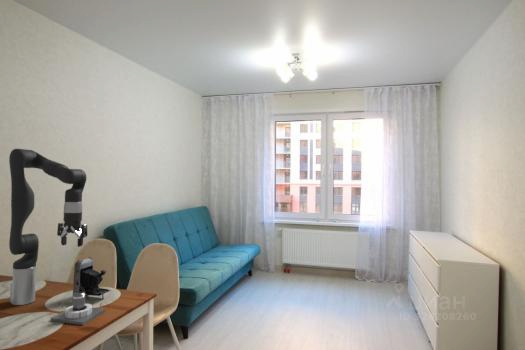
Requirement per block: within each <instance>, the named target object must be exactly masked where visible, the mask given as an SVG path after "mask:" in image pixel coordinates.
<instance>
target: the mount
mask: <svg viewBox="0 0 525 350" xmlns="http://www.w3.org/2000/svg"><path fill="white" fill-rule="evenodd" d="M105 312H106V309H105V308H98V307H93V305H92V304H91V303H85V309H84V310H81V311H73V304H72V305H71V306H68V307H66V308H65V310H64V311H61V312H60V313H58V314H55V315H54V316H52V317H50V321H51V322H55V323H56V322H58V323H63V324H73V325H79V326H83V325H85V324H87V323H89V322H90V321H92V320H93V319H96V318H97V317H99V316H101V315H102V314H103V313H105Z"/></svg>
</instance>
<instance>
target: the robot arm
mask: <svg viewBox="0 0 525 350" xmlns="http://www.w3.org/2000/svg"><path fill="white" fill-rule="evenodd" d="M8 163H9V171H10V172H9V173H10V182H11V184H10V185H11V189H10V190H11V196H10V209H11V210H10V211H11V212H10V213H11V217H10V219H11V221H10V222H11V223H10V232H9V245H8V246H9V251H10V253H11V255H14V256H17V255H18V256H19V255H23V256H21V257H20V258H19V259H17V260H15V261H14V262H13V263H12V282H11V283H10V290H9V291H10V295H9V297H10V298H9V304H11V305H13V306H23V305H27V304H31V303H33V302H35V300H36V280H37V277H36V276H37V261H38V258H39V257H38V255H39V247H40V246H39V245H40V241H39V237H38V235H37V234H36V233H26V234H25V233H24V234H23V230H24V226H25V223H26V221H27V219H29V217H30V215H31V214H32V212H33V211H34V208H35V193H34V191H33V188H32V187H31V185H30V184H29V182H28V181H27V179H26V177H25V176H26V174H25V169H31V168H32V169H38V170H42V172H44V173H45V174H46V175H48V176H50V177H53V178H56V179H57V180H59V181H60V182H62V183H64V184H68V185H72V186H71V188H68V189H66V190H65V192H64V205H63V220H62V221H63V222H59V223H57V233H56V235H57V236H58V237H60V238H61V239H60V244H61V246H66V245H67V244H68V242H67V241H68V239H67V236H68V235H69V234H70V233H71V234H74V235H75V236H76V237H77V247H78V248H80V247H82V246H83V245H84V238H87V237H88V224H87V223H84V224H83V223H82V221H83V192H84V189H85V186H86V183H87V173H86V172H85V171H84V170H83V169H81V168H69V166H67V165H65V164H62V163H60V162H57V161H54V160H51V159H49V158H47V157H45V156H43V155H42V154H40V153H39V152H37V151H35V150H32V149H25V148H14V149H12V150H11V152H10V153H9V161H8Z"/></svg>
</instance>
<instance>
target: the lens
mask: <svg viewBox="0 0 525 350" xmlns="http://www.w3.org/2000/svg"><path fill="white" fill-rule="evenodd" d="M85 304H86V296H85V292H76V293H74V294H73V293H72V305H73V311H81V310H84V309H85Z"/></svg>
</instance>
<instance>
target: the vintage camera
mask: <svg viewBox="0 0 525 350" xmlns="http://www.w3.org/2000/svg"><path fill="white" fill-rule="evenodd" d="M73 269H74V270H73V272H74V273H73V283H72V284H73V285H72V287H73V288H72V295H73V294H74V293H76V292H85V295H86V296H95V297H101V298H102V300H104V299H105V298H104V295H105V294H107V293H108V292H111V289H109V288H103V287H101V288H100V287H99V285H100V284H101V283H102V281H103V280H104V279H103V276H105V275H106V273H107V271H106V270H104V269H102V270H100V272H99V271H97V270H94V259H93V258H92V257H91V256H88V257H87V258H84V259H81V260H79V259H78V260H77V261H75V264H74V268H73Z"/></svg>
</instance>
